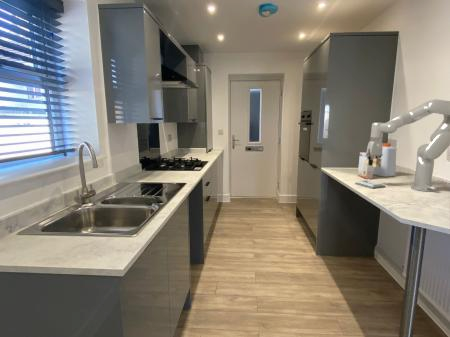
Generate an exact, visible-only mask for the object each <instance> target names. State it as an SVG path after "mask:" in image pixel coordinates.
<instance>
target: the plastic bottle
mask: <svg viewBox="0 0 450 337" xmlns="http://www.w3.org/2000/svg"><path fill="white" fill-rule="evenodd" d="M382 144H383V149H382V154H383V156H381V158H380V159H382V160H381V167H374V169H373V176H378V177H381V178H382V177H383V178H389V177H395V176H396V167H397V165H396V163H397V161H396V160H397V147H394V146H391V145H392V144H391V143H387V142H386V143H385V142H382ZM377 157H378V156H377Z"/></svg>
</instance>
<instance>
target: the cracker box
mask: <svg viewBox="0 0 450 337" xmlns="http://www.w3.org/2000/svg"><path fill="white" fill-rule="evenodd" d="M366 152H367V151H366ZM366 152H365V151H364V152H363V151H362V152H359V157H358V158H359V159H358V161H359V162H358V166H357V168H358V169H357V170H358V171H357V177H360V178H362V179H364V180H373V177H374V175H373V169H374V167H372V166H367V165H366V159H367V156H366ZM373 157H374V158H375V156H373Z"/></svg>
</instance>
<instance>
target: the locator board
mask: <svg viewBox="0 0 450 337" xmlns="http://www.w3.org/2000/svg"><path fill="white" fill-rule="evenodd" d="M354 184H355V185H357V186H360V187H363V188H369V189H372V190H374V189H382V188H387V185H383V183H380V182H377V181H372V180H370V179H363V180H358V182H355V183H354Z"/></svg>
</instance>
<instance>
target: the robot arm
mask: <svg viewBox="0 0 450 337" xmlns="http://www.w3.org/2000/svg"><path fill="white" fill-rule="evenodd" d="M432 114H438V115H443V120H442V122H441V123H440V124H439V126H437V128H436V129H435V130H434V131H433V132H432V134H431V135H430V137H429V140H430V142H429V143H424V144H422V145H420V146H419V147H418V149H417V151H416V165H415V172H414V181H413V185H410V190H413V191H414V190H415V191H418V192H420V191H421V192H433V191H436V190H437V186H434V184H433V183H432V180H433V174H434V166H435V160H436V159H438V158H440V157H441V155H443V154H444V152H445V151H446V150H447V149H448V148H449V147H450V100H444V99H437V98H436V99H431V100H428V101H425V102H423V103H422V104H420V105H418V106H416V107H414V108H412V109H410V110H408V111H405V112H404V113H402V114H401V115H398V116H397V117H394V118H393V119H390V120H388V121H387V122H372V124H371V130H370V137H369V141H368V144H367V147H366V156H367V158H368V159H369V162H368V165H372V163H373V160H372V159H373V156H375V158H381V156H383V154H382V149H383V137H384V136H383V135H384V133H386V134H393V133H396V132H397V130H398V129H399V128H402V127H404V126H406V125H409V124H413V123H416V122H418V121H420V120H422V119H424V118H425V117H428V116H429V115H432ZM377 156H378V157H377Z"/></svg>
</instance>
